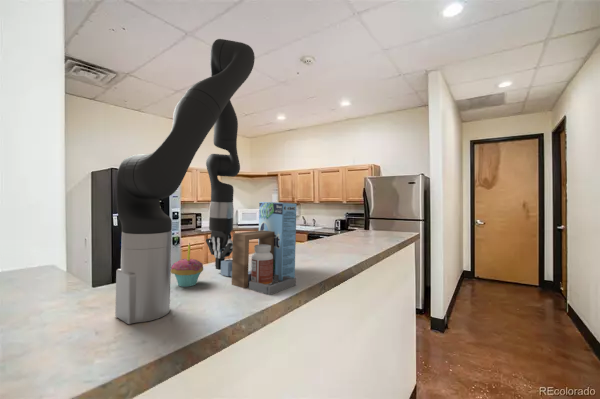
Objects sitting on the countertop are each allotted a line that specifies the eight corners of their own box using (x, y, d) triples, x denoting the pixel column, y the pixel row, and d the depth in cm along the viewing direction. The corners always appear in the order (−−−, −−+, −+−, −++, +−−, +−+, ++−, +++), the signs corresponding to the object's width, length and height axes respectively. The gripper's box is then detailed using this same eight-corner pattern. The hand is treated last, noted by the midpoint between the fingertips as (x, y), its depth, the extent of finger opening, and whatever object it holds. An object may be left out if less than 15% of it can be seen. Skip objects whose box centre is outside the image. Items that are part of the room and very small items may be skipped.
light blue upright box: (295, 280, 86) (297, 203, 86) (279, 281, 84) (282, 203, 84) (269, 265, 103) (272, 202, 103) (256, 267, 101) (258, 201, 101)
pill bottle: (275, 282, 85) (276, 244, 85) (268, 288, 79) (269, 248, 79) (255, 280, 87) (256, 243, 87) (247, 285, 81) (248, 246, 81)
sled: (263, 278, 88) (264, 264, 88) (244, 284, 82) (244, 269, 82) (234, 270, 96) (235, 258, 96) (214, 275, 90) (215, 262, 90)
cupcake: (206, 286, 80) (207, 242, 80) (173, 290, 75) (174, 244, 75) (198, 278, 87) (199, 238, 87) (167, 282, 82) (168, 240, 82)
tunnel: (273, 278, 89) (274, 231, 88) (243, 288, 79) (245, 235, 79) (261, 275, 92) (262, 230, 91) (231, 284, 82) (232, 233, 82)
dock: (269, 295, 74) (269, 287, 74) (248, 288, 78) (249, 281, 78) (295, 285, 83) (295, 278, 83) (275, 280, 87) (276, 273, 87)
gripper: (199, 214, 95) (197, 267, 95) (225, 218, 87) (223, 275, 87) (217, 214, 101) (216, 263, 101) (244, 217, 93) (242, 270, 93)
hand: (219, 269), depth 94 cm, fingers closed
